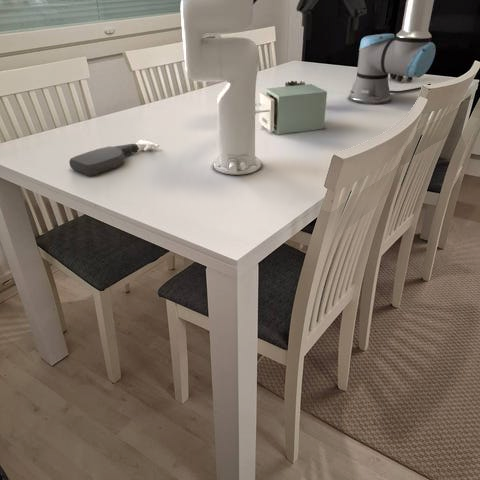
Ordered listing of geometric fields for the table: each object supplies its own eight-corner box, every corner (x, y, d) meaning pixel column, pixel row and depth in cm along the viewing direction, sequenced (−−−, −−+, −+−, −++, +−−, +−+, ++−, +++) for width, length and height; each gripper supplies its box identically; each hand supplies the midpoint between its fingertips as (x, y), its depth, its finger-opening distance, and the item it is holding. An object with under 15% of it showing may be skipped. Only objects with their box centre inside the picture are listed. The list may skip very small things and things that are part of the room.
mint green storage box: (277, 134, 141) (279, 96, 135) (265, 124, 150) (265, 88, 143) (324, 128, 145) (327, 91, 139) (309, 119, 154) (311, 84, 148)
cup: (281, 105, 168) (282, 83, 164) (288, 101, 173) (289, 79, 169) (299, 108, 165) (301, 85, 161) (306, 103, 170) (308, 81, 166)
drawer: (253, 133, 139) (253, 102, 134) (243, 124, 147) (242, 94, 141) (313, 126, 144) (315, 95, 139) (300, 117, 152) (301, 88, 147)
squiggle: (400, 92, 202) (376, 71, 205) (417, 76, 202) (392, 56, 205) (405, 81, 191) (380, 59, 194) (423, 64, 191) (397, 42, 194)
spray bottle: (67, 168, 120) (139, 144, 136) (91, 178, 114) (163, 151, 130) (65, 157, 118) (137, 134, 134) (89, 167, 112) (162, 142, 128)
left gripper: (202, -42, 128) (206, 23, 137) (262, -44, 129) (261, 22, 139) (202, -42, 135) (205, 20, 144) (258, -43, 136) (258, 19, 145)
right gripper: (285, -49, 117) (283, 39, 128) (374, -52, 103) (362, 47, 114) (301, -49, 122) (297, 36, 133) (388, -51, 108) (375, 43, 119)
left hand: (233, 21), depth 141 cm, fingers open, 9 cm apart
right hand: (327, 41), depth 124 cm, fingers open, 13 cm apart
